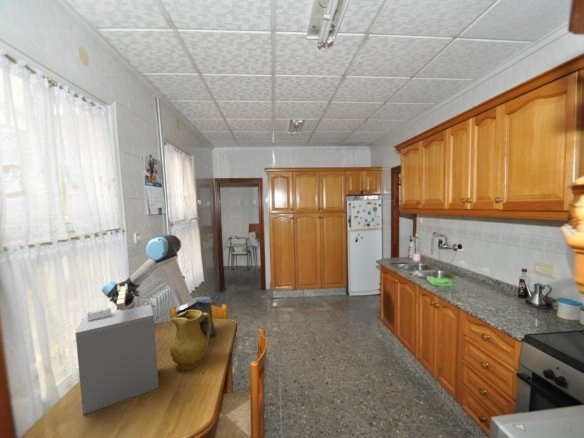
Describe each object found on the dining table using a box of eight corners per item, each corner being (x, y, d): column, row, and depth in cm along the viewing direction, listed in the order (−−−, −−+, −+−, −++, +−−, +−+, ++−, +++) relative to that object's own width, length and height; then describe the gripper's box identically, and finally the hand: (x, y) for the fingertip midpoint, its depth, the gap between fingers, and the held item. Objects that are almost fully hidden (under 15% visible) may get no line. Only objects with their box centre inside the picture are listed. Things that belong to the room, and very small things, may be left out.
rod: (120, 291, 130) (120, 286, 130) (126, 290, 131) (126, 286, 131) (116, 310, 104) (116, 304, 104) (124, 309, 105) (123, 303, 105)
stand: (89, 390, 114) (82, 318, 113) (156, 369, 128) (151, 304, 126) (83, 414, 101) (75, 332, 99) (158, 387, 114) (153, 315, 113)
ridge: (88, 319, 112) (88, 312, 112) (111, 314, 116) (110, 307, 116) (87, 321, 110) (87, 314, 110) (111, 316, 114) (110, 309, 114)
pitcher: (179, 353, 140) (177, 307, 139) (214, 352, 141) (213, 307, 139) (163, 374, 123) (161, 322, 121) (203, 374, 124) (202, 322, 122)
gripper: (142, 303, 144) (141, 291, 126) (108, 310, 136) (102, 298, 118) (141, 290, 147) (140, 276, 129) (108, 295, 139) (102, 282, 121)
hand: (122, 287), depth 124 cm, fingers closed on rod, 2 cm apart
